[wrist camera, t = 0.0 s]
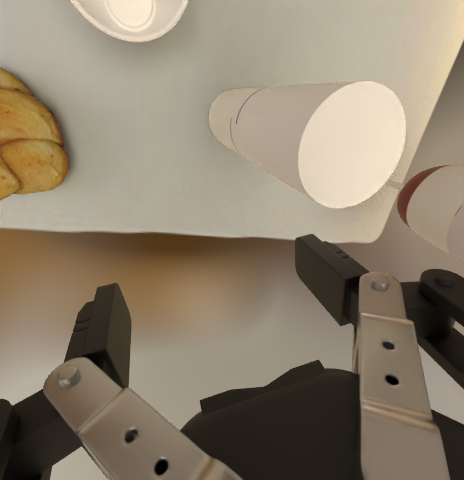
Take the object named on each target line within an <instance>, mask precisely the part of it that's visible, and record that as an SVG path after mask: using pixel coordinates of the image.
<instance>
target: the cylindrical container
mask: <svg viewBox="0 0 464 480" xmlns="http://www.w3.org/2000/svg"><path fill="white" fill-rule="evenodd" d="M208 119H209V126H210V130H211V132H212V134H213V136H214V137H215V138H216V139H217V140H218V141H219V142H220V143H222V144H223V145H225V146H226V147H228V148H230V149H231V150H233V151H235V152H236V153H238V154H239V155H241V156H243V157H244V158H246V159H248V160H249V161H251V162H252V163H254V164H256V165H257V166H259V167H261V168H262V169H264V170H265V171H267V172H269V173H270V174H272V175H273V176H275V177H277V178H278V179H280V180H282V181H283V182H285V183H286V184H288V185H290V186H291V187H293V188H295V189H296V190H298V191H299V192H301V193H303V194H304V195H306V196H308V197H309V198H311V199H312V200H314V201H316V202H317V203H319V204H321V205H323V206H326V207H330V208H346V207H351V206H354V205H356V204H359V203H361V202H363V201H364V200H366V199H368V198H369V197H371V196H372V195H373V194H374V193H376V192H377V191H378V190H379V189H380V188H381V187H382V186H383V185H384V184H385V182H386V181H387V180H388V179H389V177H390V176H391V174H392V173H393V171H394V169H395V168H396V166H397V164H398V162H399V159H400V156H401V154H402V151H403V147H404V142H405V137H406V121H405V114H404V111H403V108H402V105H401V103H400V101H399V100H398V98H397V97H396V95H395V94H394V93H393V92H392V91H391V90H390V89H389V88H388V87H386V86H384V85H382V84H380V83H376V82H371V81H360V82H342V83H325V84H307V85H292V86H276V87H258V88H242V89H230V90H227V91H224V92H223V93H221V94H219V95H218V96H217V97H216V98H215V100H214V101H213V103H212V105H211V107H210V111H209V118H208Z"/></svg>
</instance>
